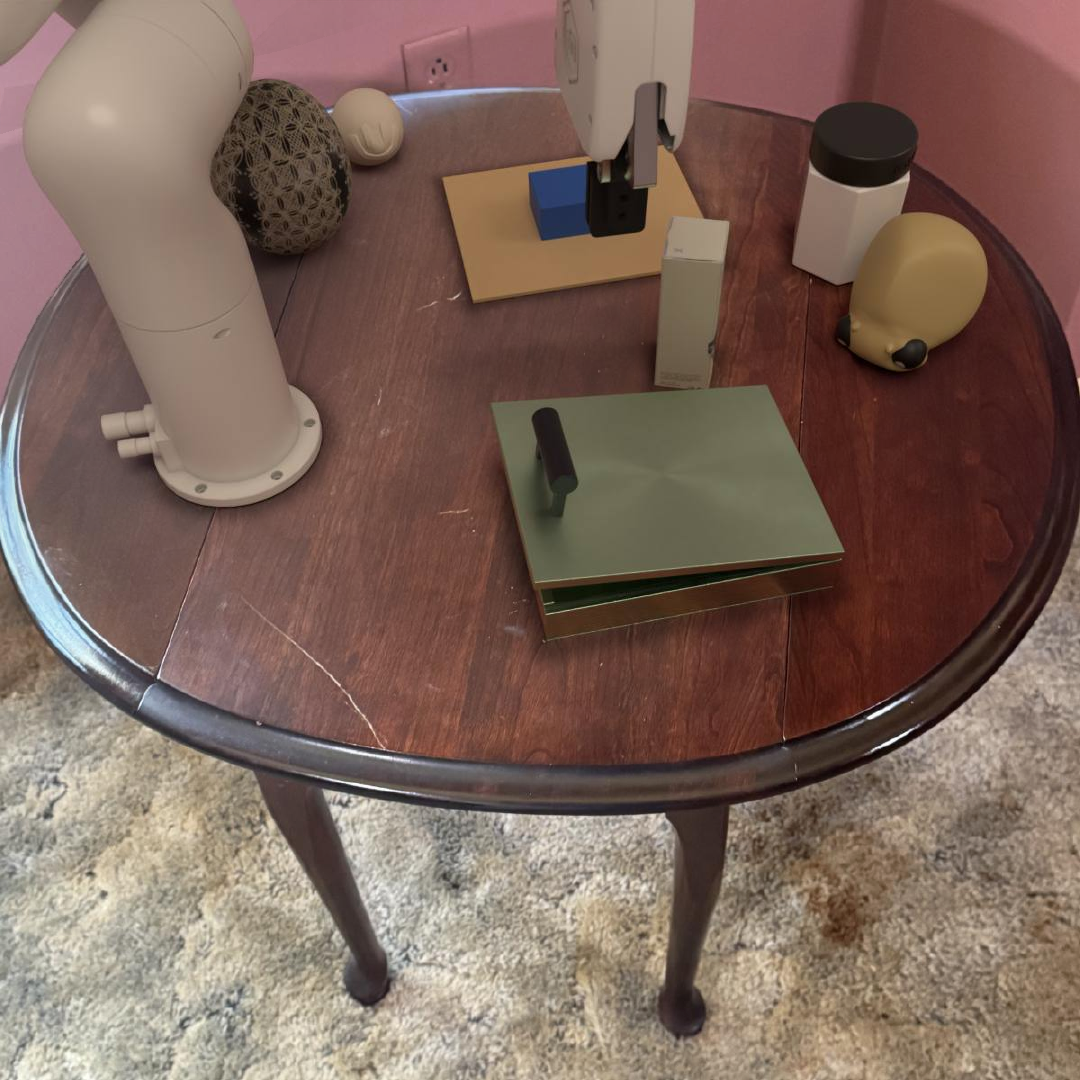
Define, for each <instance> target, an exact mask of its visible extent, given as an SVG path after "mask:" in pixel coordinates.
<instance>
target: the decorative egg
mask: <svg viewBox="0 0 1080 1080" xmlns="http://www.w3.org/2000/svg"><path fill="white" fill-rule="evenodd" d="M351 167H352V166H351V161H350V160H349V156H348V153H347V149H346V146H345V144H344V141H343V138H342V136H341V134H340V132H339V130H338V128H337V126H336V124H335V122H334V121H333V119H332V118H331V114H330V113H329V112H328V111H327V108H325V106H324V105H322V103H321V102H320V101H318V100H317V99H316V98H315V97H314V96H313V95H312V94H311V93H309V92H308V91H307V90H305V89H303V88H302V87H300V86H298V85H297V84H296V83H292V82H289V81H286V80H282V79H279V78H260V79H255V80H251V82H250V84H249V87H248V89H247V91H246V94H245V96H244V98H243V100H242V102H241V104H240V106H239V108H238V110H237V112H236V113H235V115H234V117H233V119H232V121H231V123H230V124H229V126H228V128H227V130H226V132H225V134H224V137H223V139H222V141H221V143H220V145H219V147H218V149H217V151H216V152H215V155H214V157H213V159H212V164H211V171H210V178H211V184H212V188H213V190H214V192H215V194H216V196H217V197H218V198H219V200H220V201H221V202H222V203H223V205H224V206H225V207H226V208H227V209H228V210H229V211H230V212H231V213H232V215H233V216H234V218H235V219H236V221H237V223H238V225H239V227H240V229H241V231H242V233H243V236H244V238H245V241H246V243H249V244H251V245H252V246H254V247H256V248H257V249H260V250H262V251H264V252H267V253H271V254H276V255H283V256H294V255H301V254H305V253H308V252H311V251H313V250H316V249H318V248H319V247H321V246H322V245H324V244H325V243H326V242H328V241H329V240H330V239H331V238H332V237H333V236H334V235H335V234H336V233H337V232H338V230H339V228H340V227H341V226H342V224H343V223H344V220H345V218H346V216H347V213H348V212H349V211H348V210H349V209H350V204H351V200H352V193H353V172H352V168H351Z"/></svg>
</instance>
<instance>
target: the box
mask: <svg viewBox="0 0 1080 1080" xmlns="http://www.w3.org/2000/svg"><path fill="white" fill-rule="evenodd" d="M729 230H730V222H729V221H728V220H721V219H720V220H719V219H709V218H704V219H701V218H691V217H680V216H672V217H671V219H670V223H669V226H668V230H667V235H666V239H665V244H664V250H663V255H662V266H661V274H660V284H659V297H658V298H659V299H658V316H657V334H656V335H657V336H656V351H655V352H656V354H655V368H654V369H655V370H654V382H653V385H655V386H660V387H668V388H676V389H683V390H692V389H707V388H710V383H711V379H712V373H713V367H714V360H715V354H716V353H715V352H716V343H717V335H718V334H717V333H718V326H719V325H718V324H719V316H720V308H721V299H722V291H723V280H724V272H725V271H724V270H725V263H726V254H727V249H728V248H727V246H728V239H729Z"/></svg>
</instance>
